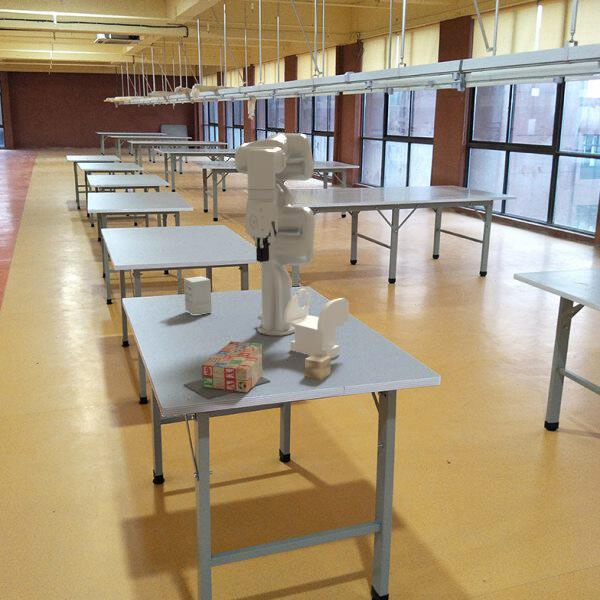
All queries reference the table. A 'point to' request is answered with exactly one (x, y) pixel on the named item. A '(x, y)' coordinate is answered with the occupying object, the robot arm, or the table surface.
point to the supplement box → (197, 295)
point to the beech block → (317, 366)
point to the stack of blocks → (234, 367)
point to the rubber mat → (211, 393)
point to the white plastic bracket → (316, 325)
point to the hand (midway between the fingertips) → (262, 260)
